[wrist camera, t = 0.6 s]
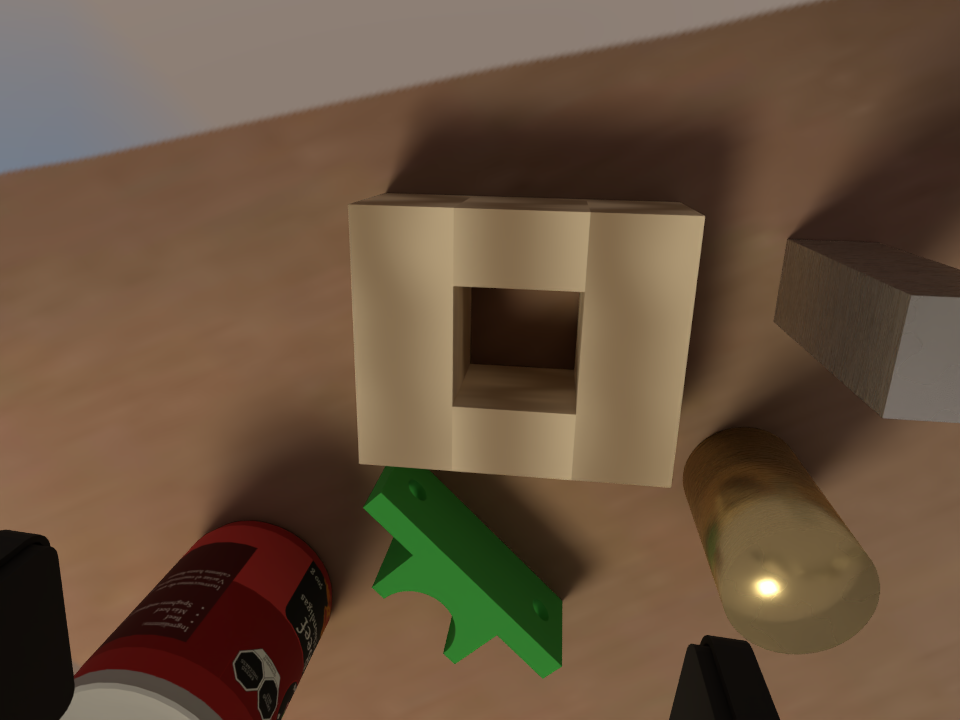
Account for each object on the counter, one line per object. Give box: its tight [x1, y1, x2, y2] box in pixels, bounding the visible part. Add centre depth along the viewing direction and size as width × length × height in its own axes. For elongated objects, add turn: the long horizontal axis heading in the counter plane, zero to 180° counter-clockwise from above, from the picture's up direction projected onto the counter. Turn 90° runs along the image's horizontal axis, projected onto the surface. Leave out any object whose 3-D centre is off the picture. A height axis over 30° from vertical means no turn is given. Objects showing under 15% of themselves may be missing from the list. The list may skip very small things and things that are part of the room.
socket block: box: [348, 193, 705, 488], centre depth 26 cm, size 12×10×5 cm
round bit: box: [683, 427, 880, 654], centre depth 26 cm, size 5×5×8 cm
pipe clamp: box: [363, 466, 562, 678], centre depth 31 cm, size 11×4×5 cm, turn 44°
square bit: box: [774, 239, 960, 423], centre depth 22 cm, size 3×3×10 cm
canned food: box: [60, 521, 332, 720], centre depth 30 cm, size 8×8×11 cm
